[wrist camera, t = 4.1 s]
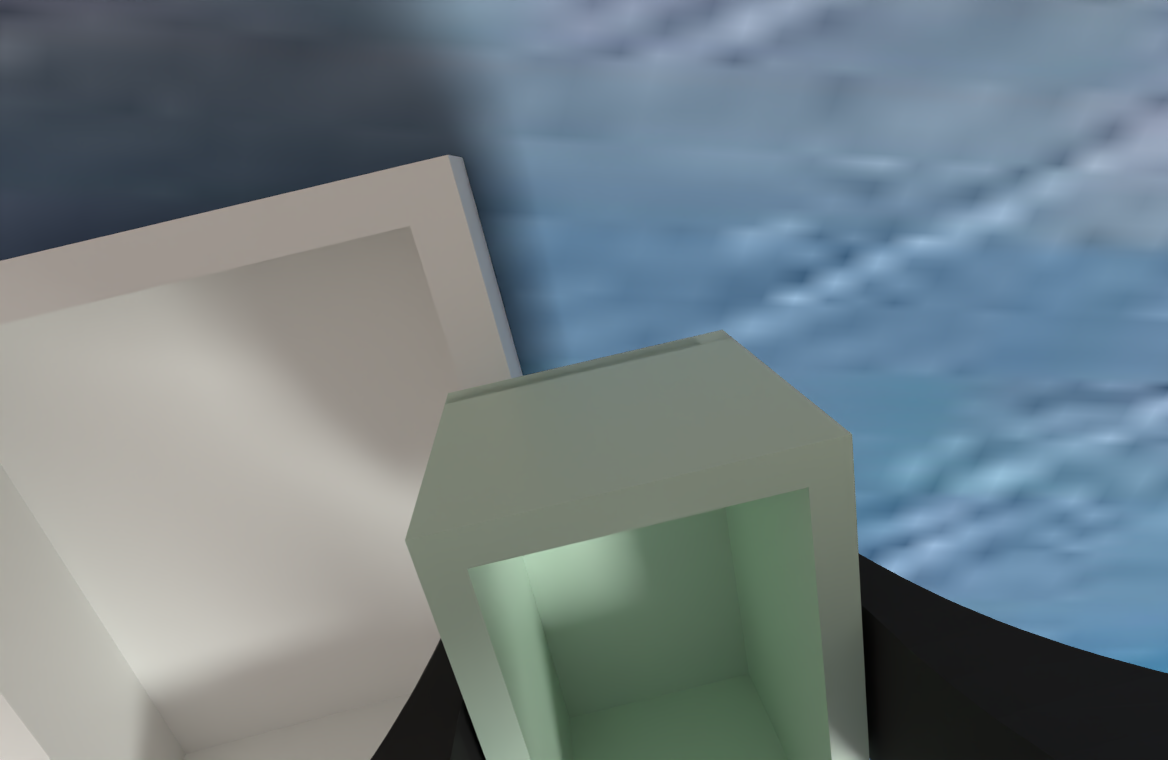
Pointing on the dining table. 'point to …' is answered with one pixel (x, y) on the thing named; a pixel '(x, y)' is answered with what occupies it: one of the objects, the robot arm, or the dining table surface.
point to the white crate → (232, 469)
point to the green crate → (647, 561)
